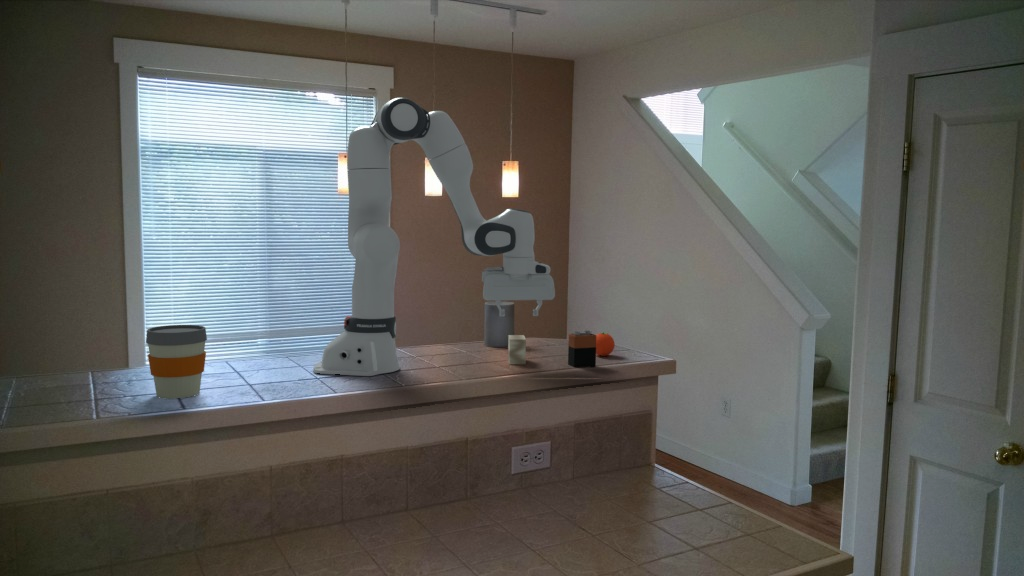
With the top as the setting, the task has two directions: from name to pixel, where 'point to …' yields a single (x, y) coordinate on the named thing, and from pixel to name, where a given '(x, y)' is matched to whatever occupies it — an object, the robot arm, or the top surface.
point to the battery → (582, 349)
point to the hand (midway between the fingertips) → (518, 316)
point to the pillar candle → (498, 324)
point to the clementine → (604, 344)
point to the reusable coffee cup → (176, 359)
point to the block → (516, 349)
